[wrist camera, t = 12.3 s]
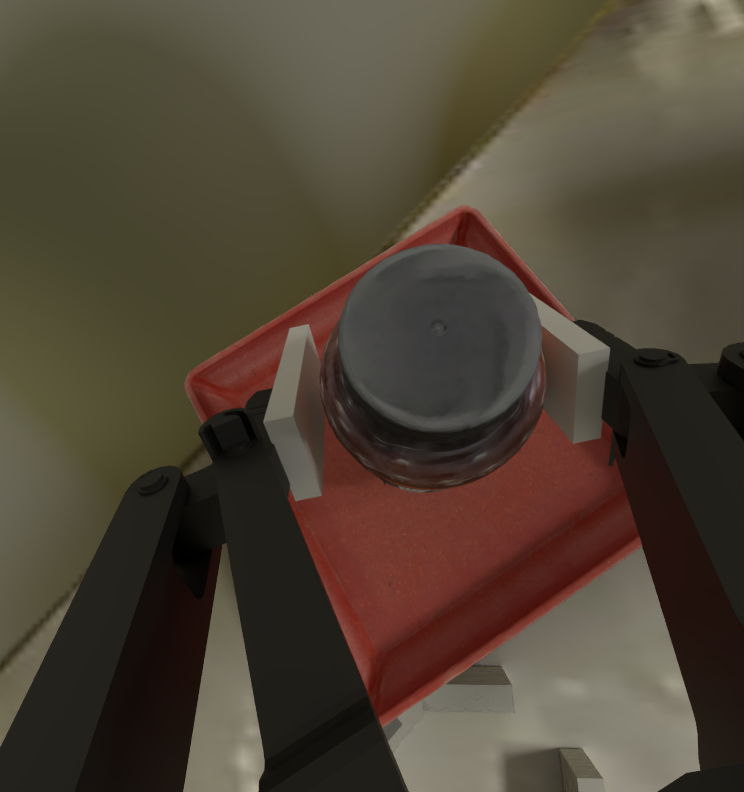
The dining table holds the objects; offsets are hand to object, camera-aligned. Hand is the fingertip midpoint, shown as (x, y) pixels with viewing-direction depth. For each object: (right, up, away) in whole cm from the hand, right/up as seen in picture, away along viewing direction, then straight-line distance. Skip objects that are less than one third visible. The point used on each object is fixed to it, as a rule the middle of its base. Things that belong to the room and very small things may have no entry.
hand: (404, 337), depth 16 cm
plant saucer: (+1, -5, +6) cm, 8 cm away
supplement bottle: (+1, -4, +3) cm, 5 cm away
